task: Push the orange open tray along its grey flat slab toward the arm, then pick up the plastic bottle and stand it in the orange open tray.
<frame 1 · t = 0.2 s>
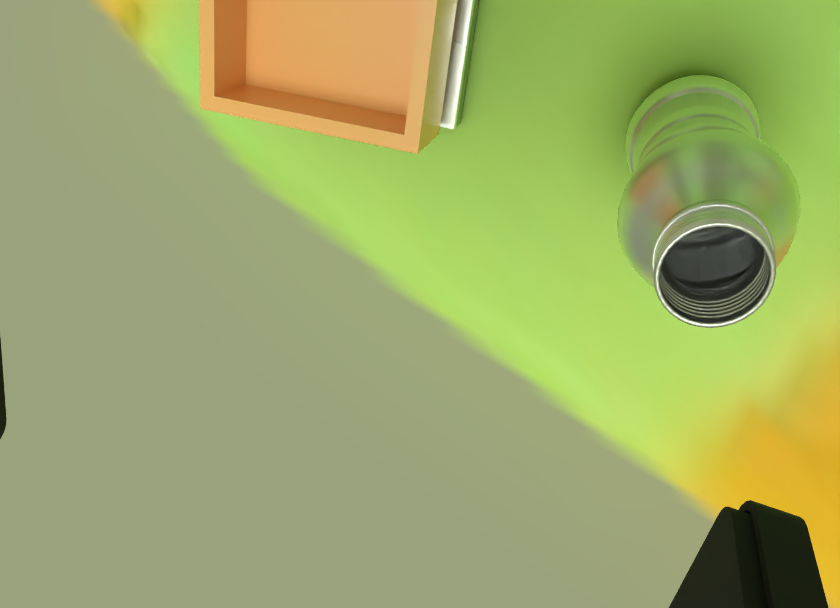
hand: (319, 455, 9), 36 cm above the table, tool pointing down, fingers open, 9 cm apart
orange open tray: (335, 1, 39), point 5 cm above the table, slide at 0.0 cm
plastic bottle: (689, 128, 41), on the table
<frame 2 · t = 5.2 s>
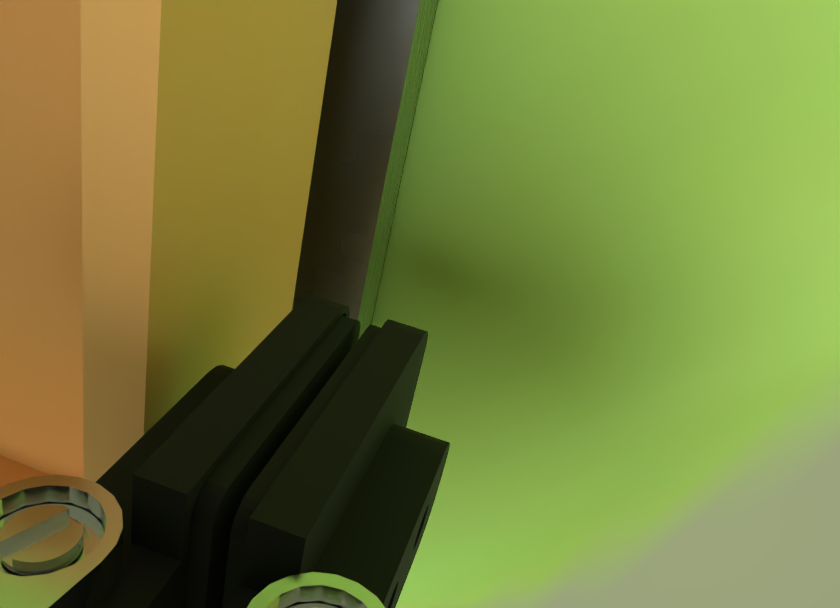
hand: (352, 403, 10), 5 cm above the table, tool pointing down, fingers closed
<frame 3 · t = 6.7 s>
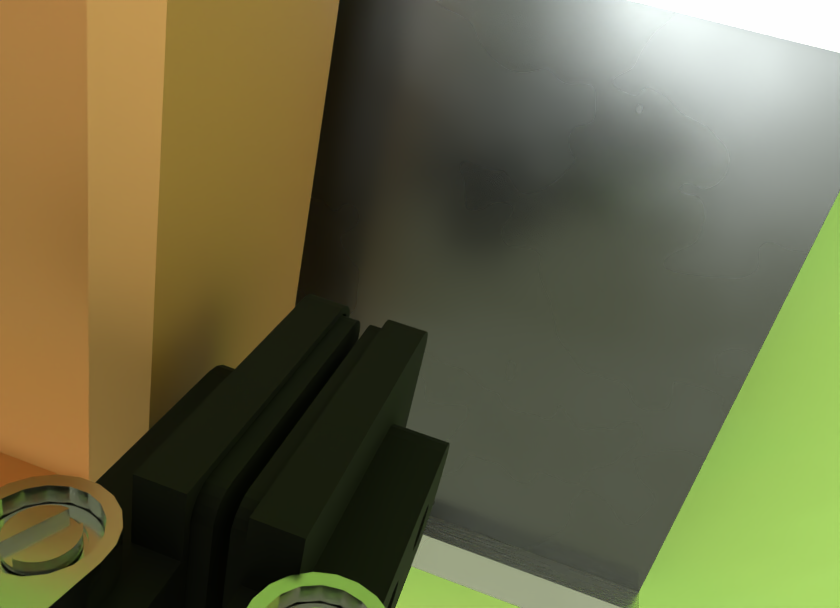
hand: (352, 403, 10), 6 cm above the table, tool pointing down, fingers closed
grey flat slab: (257, 198, 16), on the table
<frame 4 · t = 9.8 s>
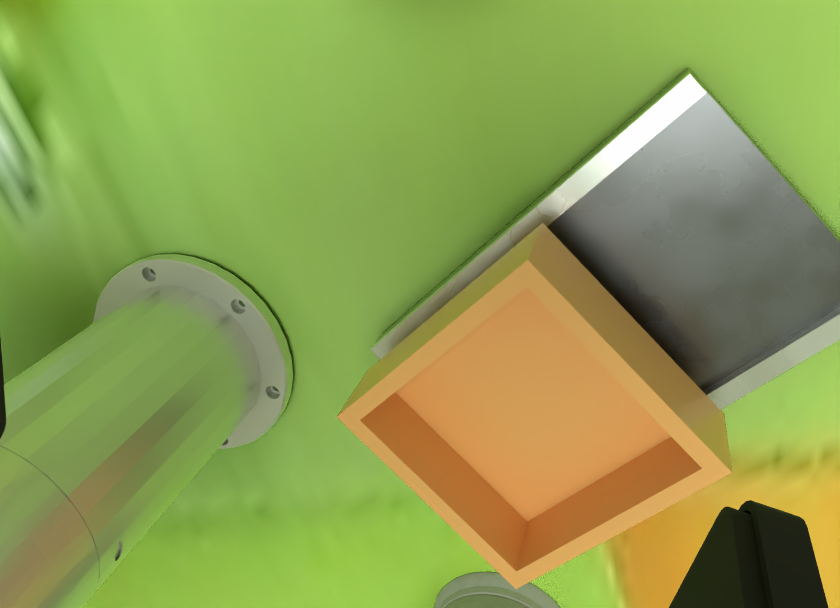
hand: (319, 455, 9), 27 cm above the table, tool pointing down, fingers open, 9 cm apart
orange open tray: (531, 406, 35), point 5 cm above the table, slide at 8.0 cm
grey flat slab: (605, 314, 37), on the table
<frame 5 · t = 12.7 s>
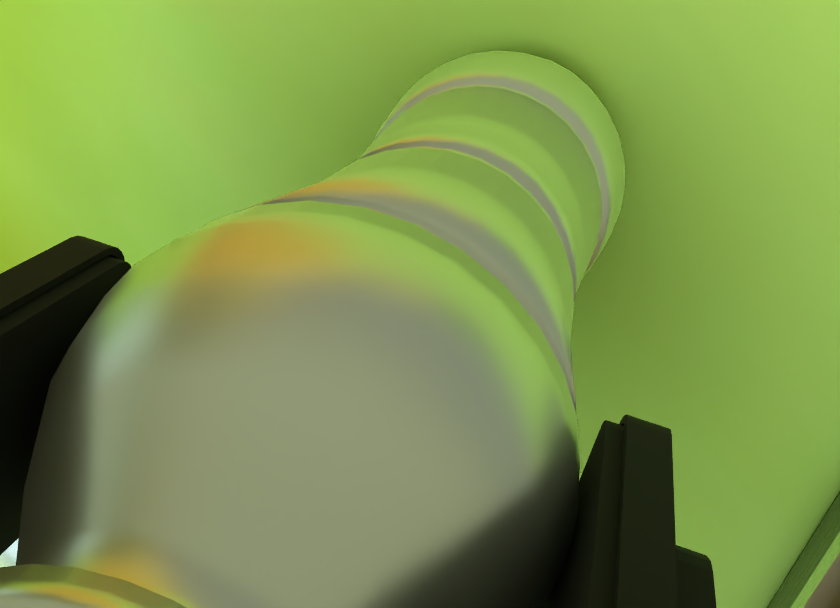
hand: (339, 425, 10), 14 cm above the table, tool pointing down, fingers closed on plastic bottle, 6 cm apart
plastic bottle: (510, 158, 22), on the table, touching gripper
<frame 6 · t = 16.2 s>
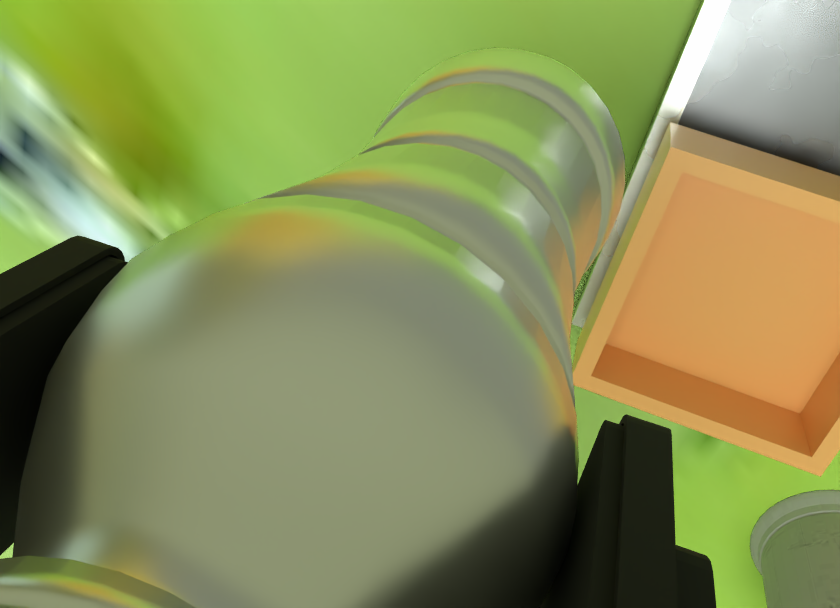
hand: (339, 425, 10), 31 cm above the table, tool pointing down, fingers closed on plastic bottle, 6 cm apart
orange open tray: (744, 293, 35), point 5 cm above the table, slide at 8.0 cm
plastic bottle: (510, 156, 22), point 17 cm above the table, touching gripper
grey flat slab: (773, 183, 37), on the table
when the fingers open (19 cm above the table, at t = 19.9 s): plastic bottle drops 1 cm, resting on orange open tray.
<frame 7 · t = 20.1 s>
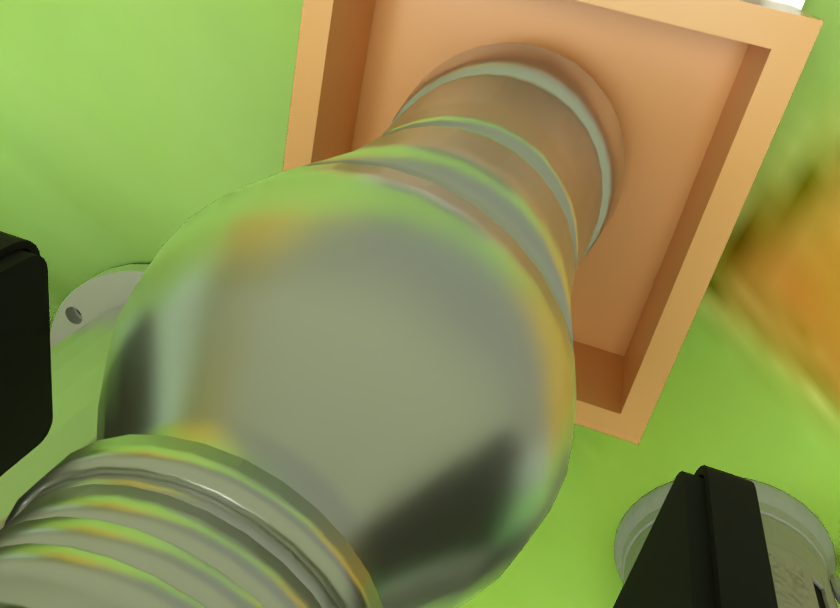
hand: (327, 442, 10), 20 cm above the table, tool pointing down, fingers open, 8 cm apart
orange open tray: (510, 168, 23), point 5 cm above the table, slide at 8.0 cm, touching plastic bottle
plastic bottle: (518, 146, 23), point 4 cm above the table, touching orange open tray
grey mug: (788, 548, 31), on the table
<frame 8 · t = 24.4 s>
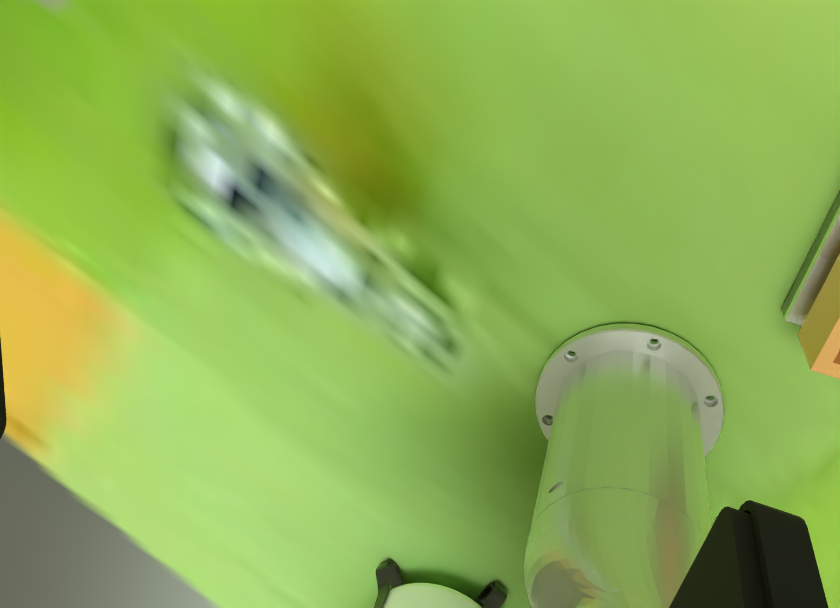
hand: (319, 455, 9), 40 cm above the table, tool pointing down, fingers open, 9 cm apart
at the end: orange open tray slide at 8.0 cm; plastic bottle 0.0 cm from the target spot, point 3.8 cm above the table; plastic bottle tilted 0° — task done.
